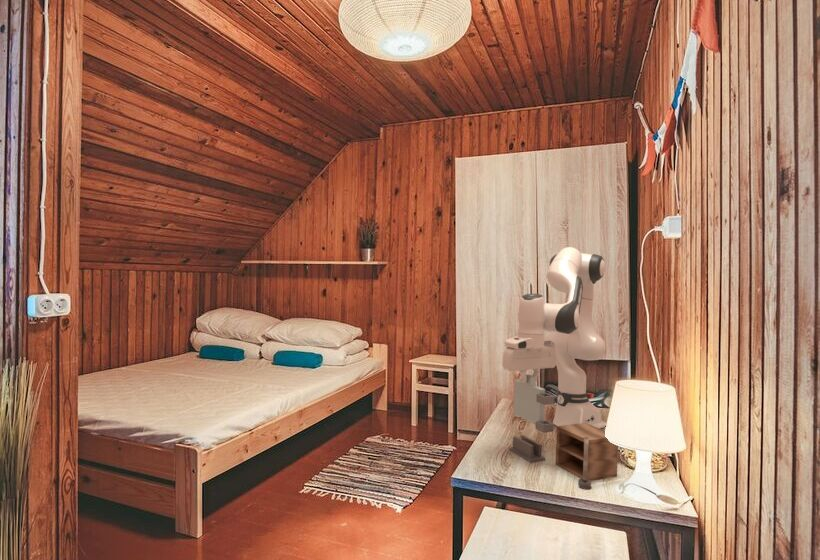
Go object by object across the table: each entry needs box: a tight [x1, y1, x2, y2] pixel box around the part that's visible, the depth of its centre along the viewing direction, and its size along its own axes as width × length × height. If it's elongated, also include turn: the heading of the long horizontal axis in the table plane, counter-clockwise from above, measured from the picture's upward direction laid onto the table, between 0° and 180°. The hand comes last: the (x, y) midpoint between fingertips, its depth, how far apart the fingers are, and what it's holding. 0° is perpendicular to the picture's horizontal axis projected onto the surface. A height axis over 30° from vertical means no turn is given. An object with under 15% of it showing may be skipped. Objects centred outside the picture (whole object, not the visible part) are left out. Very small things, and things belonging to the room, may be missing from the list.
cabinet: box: [555, 423, 619, 490], centre depth 153 cm, size 16×17×15 cm
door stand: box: [508, 434, 546, 464], centre depth 167 cm, size 6×12×6 cm, turn 24°
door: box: [513, 373, 556, 434], centre depth 165 cm, size 4×18×16 cm, turn 24°
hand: (529, 382), depth 167 cm, fingers closed on door, 2 cm apart
